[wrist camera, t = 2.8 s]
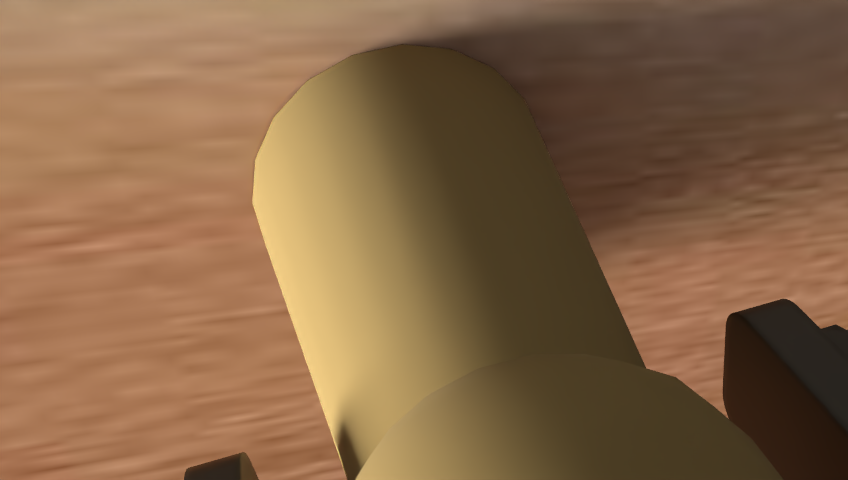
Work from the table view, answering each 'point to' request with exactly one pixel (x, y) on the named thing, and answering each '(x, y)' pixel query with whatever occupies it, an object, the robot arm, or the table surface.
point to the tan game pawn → (461, 290)
